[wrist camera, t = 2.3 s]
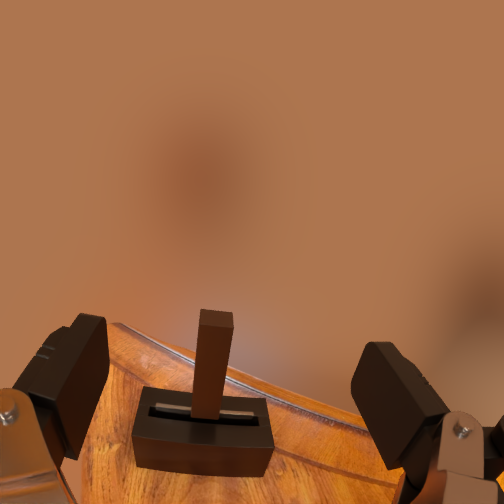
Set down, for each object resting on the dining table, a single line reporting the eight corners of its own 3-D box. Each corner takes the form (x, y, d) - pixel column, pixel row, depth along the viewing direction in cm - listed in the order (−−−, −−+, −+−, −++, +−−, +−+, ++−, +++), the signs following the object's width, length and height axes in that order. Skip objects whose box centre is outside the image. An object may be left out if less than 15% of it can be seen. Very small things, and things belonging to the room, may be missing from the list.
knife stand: (263, 477, 23) (275, 447, 22) (136, 466, 22) (131, 435, 20) (256, 430, 29) (265, 398, 27) (145, 420, 27) (143, 385, 26)
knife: (243, 460, 25) (278, 331, 20) (156, 453, 24) (153, 317, 19) (242, 444, 27) (273, 316, 22) (158, 437, 26) (158, 302, 21)
